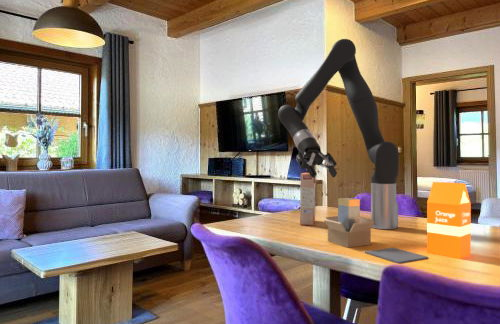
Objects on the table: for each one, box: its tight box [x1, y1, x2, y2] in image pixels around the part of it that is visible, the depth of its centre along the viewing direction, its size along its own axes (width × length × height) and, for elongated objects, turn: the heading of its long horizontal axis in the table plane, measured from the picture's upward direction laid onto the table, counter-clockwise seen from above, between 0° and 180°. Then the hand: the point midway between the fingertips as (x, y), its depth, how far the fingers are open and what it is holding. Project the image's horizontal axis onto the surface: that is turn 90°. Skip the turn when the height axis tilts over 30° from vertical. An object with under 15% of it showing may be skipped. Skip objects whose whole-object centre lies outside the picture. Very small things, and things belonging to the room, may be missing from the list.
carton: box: [323, 215, 374, 248], centre depth 119 cm, size 14×14×8 cm
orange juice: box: [426, 181, 472, 260], centre depth 105 cm, size 8×9×20 cm
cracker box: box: [299, 172, 316, 227], centre depth 156 cm, size 14×6×21 cm, turn 168°
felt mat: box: [364, 247, 429, 264], centre depth 103 cm, size 11×12×1 cm
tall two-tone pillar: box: [337, 197, 361, 232], centre depth 119 cm, size 4×5×14 cm
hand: (325, 175), depth 129 cm, fingers open, 8 cm apart
